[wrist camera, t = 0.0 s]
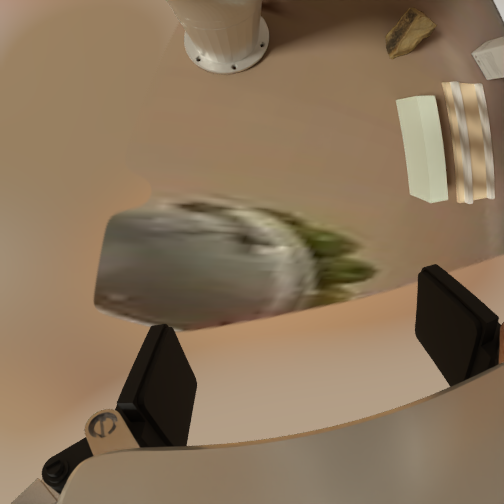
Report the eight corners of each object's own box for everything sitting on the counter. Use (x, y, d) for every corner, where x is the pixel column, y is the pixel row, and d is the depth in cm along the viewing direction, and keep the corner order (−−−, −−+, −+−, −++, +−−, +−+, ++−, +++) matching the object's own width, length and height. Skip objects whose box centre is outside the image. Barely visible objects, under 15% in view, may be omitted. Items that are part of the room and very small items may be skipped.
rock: (430, 9, 31) (385, -4, 30) (462, 26, 26) (416, 9, 25) (418, 57, 40) (375, 50, 39) (446, 79, 35) (402, 70, 34)
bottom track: (441, 82, 38) (449, 81, 35) (478, 85, 37) (486, 84, 35) (456, 201, 45) (464, 205, 43) (490, 195, 45) (498, 197, 42)
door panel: (395, 100, 40) (416, 95, 33) (412, 99, 40) (434, 95, 33) (409, 194, 45) (430, 203, 39) (425, 191, 45) (447, 199, 39)
